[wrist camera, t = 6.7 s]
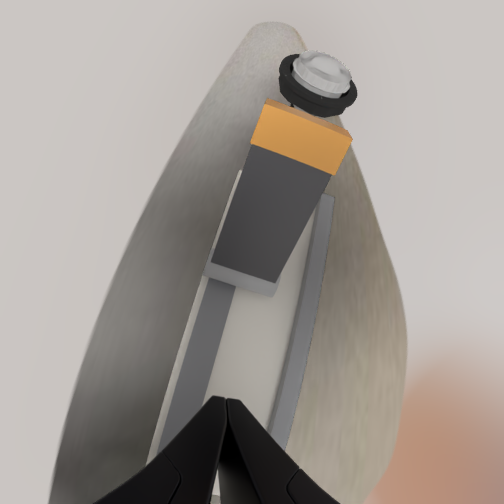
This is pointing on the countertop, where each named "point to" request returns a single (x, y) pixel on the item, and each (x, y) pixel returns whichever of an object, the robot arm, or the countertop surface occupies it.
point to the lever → (275, 196)
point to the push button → (316, 83)
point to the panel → (250, 341)
